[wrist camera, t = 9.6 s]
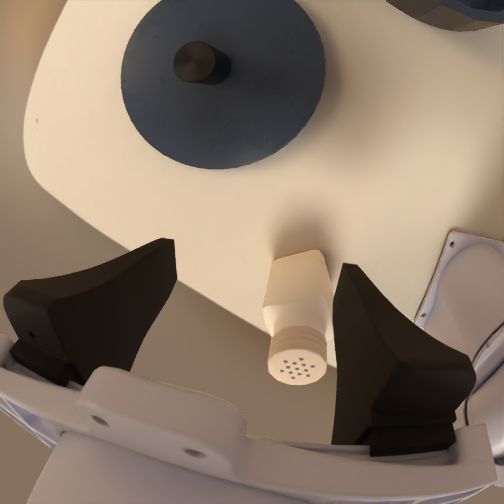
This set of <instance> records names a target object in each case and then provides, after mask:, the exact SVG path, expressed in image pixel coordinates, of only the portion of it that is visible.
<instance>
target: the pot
mask: <svg viewBox="0 0 504 504" xmlns="http://www.w3.org/2000/svg"><path fill="white" fill-rule="evenodd" d="M386 1H387V2H389V3H390V4H392V5H393V6H395V7H396V8H398V9H399V10H401V11H402V12H404V13H406V14H408V15H409V16H411V17H413V18H415V19H417V20H419V21H421V22H424V23H426V24H429V25H431V26H435V27H438V28H441V29H446V30H450V31H476V30H480V29H484V28H487V27H491V26H495V25H499V24H504V0H386Z"/></svg>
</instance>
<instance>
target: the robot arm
mask: <svg viewBox="0 0 504 504" xmlns="http://www.w3.org/2000/svg"><path fill="white" fill-rule="evenodd" d="M453 241H454V242H453ZM451 242H453V244H452V245H450V243H451ZM176 280H177V271H176V258H175V245H174V240H173V239H166V238H160V239H157V240H154V241H152V242H150V243H147V244H145V245H143V246H141V247H139V248H137V249H135V250H133V251H131V252H128V253H127V254H124V255H122V256H120V257H117V258H115V259H113V260H110V261H108V262H106V263H103V264H100V265H98V266H95V267H92V268H89V269H86V270H82V271H79V272H75V273H71V274H67V275H62V276H57V277H52V278H44V279H34V280H21V281H20V282H19V283H17V284H16V285H15V286H14V287H13V288H12V289H11V290H10V291H9V292H8V293H6V294H5V296H4V297H3V305H4V309H5V312H6V314H7V316H8V319H9V321H10V323H11V325H12V327H13V328H14V330H15V332H16V334H17V336H18V338H19V339H18V340H17V342H16V343H14V342H13V341H12V340H11V339H10V338H9V337H7V336H5V335H4V334H2V333H1V332H0V410H2V411H3V412H4V413H5V414H7V415H8V416H9V417H10V418H11V419H13V420H14V421H15V422H16V423H18V424H19V425H20V426H21V427H23V428H24V429H25V430H27V431H28V432H29V433H31V434H32V435H34V436H35V437H36V438H38V439H39V440H40V441H42V442H43V443H44V444H46V445H47V446H49V447H50V448H52V449H53V452H52V454H51V456H50V458H49V460H48V461H47V463H46V465H45V467H44V469H43V471H42V473H41V475H40V477H39V479H38V481H37V483H36V485H35V486H34V489H33V490H32V493H31V495H30V497H29V499H28V501H27V503H26V504H457V503H459V502H461V501H463V500H465V499H467V498H469V497H471V496H473V495H474V494H476V493H478V492H479V491H481V490H483V489H485V488H487V487H488V486H490V485H491V484H494V485H496V486H501V487H504V242H503V241H499V240H495V239H490V238H486V237H481V236H477V235H472V234H467V233H463V232H458V231H452V232H450V233H449V235H448V238H447V241H446V244H445V247H444V249H443V252H442V255H441V258H440V261H439V263H438V266H437V269H436V271H435V274H434V276H433V279H432V281H431V284H430V286H429V289H428V291H427V293H426V296H425V298H424V300H423V303H422V305H421V307H420V309H419V312H418V314H417V316H416V318H415V320H414V323H413V322H411V321H410V320H409V319H408V318H407V317H405V316H404V315H403V314H402V313H401V312H400V311H399V310H398V309H396V308H395V307H394V306H393V305H392V304H391V303H390V302H389V300H388V299H387V298H386V297H385V296H384V295H383V294H382V293H381V292H380V291H379V290H378V288H377V287H376V286H375V285H374V284H373V283H372V281H371V280H370V279H369V278H368V277H367V275H366V274H365V273H364V272H363V271H362V270H361V268H360V267H359V266H358V265H355V264H348V263H343V265H342V269H341V273H340V277H339V280H338V284H337V288H336V292H335V295H334V299H333V310H332V323H333V333H334V342H335V351H336V361H337V392H336V406H335V417H334V426H333V435H332V441H331V445H325V444H310V443H298V442H288V441H280V440H272V439H265V438H258V437H255V436H252V435H248V434H246V433H245V431H246V421H245V419H244V417H243V415H242V413H241V411H240V410H239V409H237V408H236V407H234V406H233V405H231V404H230V403H229V402H227V401H226V400H224V399H221V398H218V397H215V396H212V395H209V394H207V393H204V392H199V391H195V390H191V389H187V388H183V387H179V386H175V385H172V384H168V383H164V382H161V381H157V380H154V379H150V378H147V377H144V376H140V375H137V374H134V373H131V372H130V370H131V367H132V365H133V362H134V359H135V357H136V355H137V352H138V350H139V348H140V346H141V344H142V341H143V339H144V337H145V336H146V334H147V332H148V330H149V329H150V327H151V325H152V324H153V322H154V321H155V319H156V317H157V316H158V314H159V312H160V311H161V309H162V308H163V306H164V305H165V303H166V301H167V300H168V298H169V296H170V294H171V292H172V290H173V287H174V285H175V283H176ZM423 313H424V314H423ZM419 327H423V328H424V331H423V330H422V329H421V328H419ZM459 406H460V407H459ZM458 407H459V415H458V421H459V428H458V429H456V430H455V431H454V428H453V423H454V422H455V421H456V414H455V410H456V409H457V408H458Z"/></svg>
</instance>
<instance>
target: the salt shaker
mask: <svg viewBox="0 0 504 504" xmlns="http://www.w3.org/2000/svg"><path fill="white" fill-rule="evenodd" d="M332 310H333V292H332V284H331V281H330V277H329V273H328V270H327V266H326V263H325V260H324V256H323V254H322V253H321V252H320V251H319V250H316V249H313V250H309V251H305V252H302V253H298V254H294V255H290V256H286V257H282V258H278V259H276V260H275V261H273V262H272V265H271V270H270V275H269V280H268V284H267V289H266V294H265V299H264V303H263V311H262V314H263V317H264V320H265V323H266V326H267V328H268V330H269V333H270V335H271V337H272V339H271V345H270V351H269V352H270V353H269V357H268V369H269V373H270V374H271V375H272V376H273V377H274V378H275V379H277V380H278V381H281V382H284V383H287V384H289V385H306V384H309V383H312V382H315V381H318V380H319V379H320V378H321V377H322V376H323V375H324V374H325V373H326V367H327V348H326V347H327V343H328V342H329V341H331V340H332V339H333V338H334V333H333V323H332Z"/></svg>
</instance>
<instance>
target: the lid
mask: <svg viewBox="0 0 504 504" xmlns="http://www.w3.org/2000/svg"><path fill="white" fill-rule="evenodd" d="M324 78H325V57H324V50H323V46H322V43H321V39H320V36H319V34H318V32H317V30H316V28H315V26H314V24H313V22H312V21H311V19H310V18H309V16H308V15H307V14H306V12H305V11H304V10H303V9H302V8H301V7H300V6H299V5H298V4H297V3H296V2H295V1H294V0H161V1H160V2H158V3H157V4H156V5H155V6H154V7H153V8H152V9H151V10H150V11H149V12H148V13H147V14H146V15H145V16H144V17H143V19H142V20H141V21H140V23H139V24H138V26H137V27H136V29H135V30H134V32H133V34H132V36H131V38H130V40H129V42H128V44H127V47H126V50H125V53H124V57H123V62H122V69H121V89H122V95H123V100H124V104H125V107H126V110H127V112H128V115H129V117H130V119H131V121H132V123H133V124H134V126H135V127H136V129H137V131H138V132H139V133H140V134H141V135H142V137H143V138H144V139H145V140H146V141H147V142H148V143H149V144H150V145H151V146H152V147H154V148H155V149H156V150H158V151H159V152H161V153H162V154H163V155H165V156H167V157H169V158H171V159H173V160H175V161H177V162H180V163H183V164H185V165H189V166H193V167H197V168H205V169H228V168H236V167H240V166H244V165H249V164H252V163H254V162H257V161H259V160H262V159H264V158H266V157H268V156H270V155H272V154H274V153H275V152H277V151H278V150H280V149H281V148H282V147H284V146H285V145H287V144H288V143H289V142H290V141H291V140H292V139H293V138H294V137H296V136H297V134H298V133H299V132H300V131H301V130H302V129H303V127H304V126H305V125H306V124H307V122H308V121H309V119H310V117H311V116H312V114H313V113H314V111H315V108H316V106H317V104H318V102H319V99H320V96H321V93H322V90H323V85H324Z"/></svg>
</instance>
